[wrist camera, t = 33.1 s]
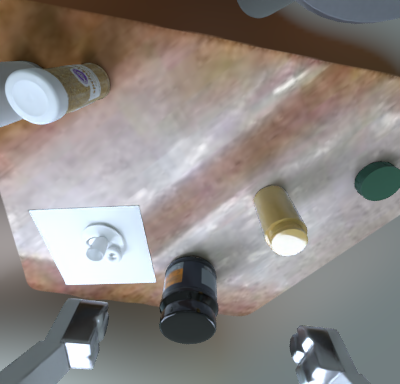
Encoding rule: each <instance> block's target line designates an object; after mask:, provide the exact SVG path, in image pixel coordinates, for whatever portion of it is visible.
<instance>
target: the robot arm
mask: <svg viewBox="0 0 400 384" xmlns="http://www.w3.org/2000/svg"><path fill="white" fill-rule="evenodd" d="M107 310H108V303H106V302H98V301H90V300H83V299H73V298H69V299H68V300H67V301H66V302H65V304H64V305H63V307H62V309H61V311H60V313H59V314H58V316H57V318H56V320H55V322H54V324H53V326H52V327H51V329H50V331H49V333H48V335H47V336H46V338H45V340H44V341H39V342H38V343H36V344H35V345H34V346H32V347H31V348H30V349H29V350H27V351H26V352H25V353H24V354H22V355H21V356H20V357H19V358H17V359H16V360H15V361H13V362H12V363H11V364H9V365H8V366H7V367H6V368H4V369H3V370H2V371H1V372H0V384H57V383H58V381H59V380H60V379H61V378H62V377H63V376H64V375H65V374H66V373H67V372H68V371H69V368H78V369H93V367H94V364H95V362H96V359H97V356H98V353H99V342H100V341H101V340H102V339H103V338H104V336H105V333H106V329H107V325H108V320H109V314H108V313H107ZM297 332H298V333H296V334H294V335H293V336H292V338H291V339H290V352H291V356H292V359H293V360H294V361H295V363H296V364H297V368H296V374H297V377H298V381H299V384H371V383H370V382H369V381H368V380H367V379H366V378H365V377H364V376H363V375H362V374H358V372H357V369H356V367H355V365H354V363H353V361H352V359H351V357H350V355H349V353H348V351H347V348H346V347H345V344H344V342H343V340H342V338H341V336H340V334H339V332H338V331H337V330H336V329H332V328H323V327H314V326H305V325H301V326H299V327H298V328H297Z"/></svg>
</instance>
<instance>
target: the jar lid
mask: <svg viewBox="0 0 400 384" xmlns="http://www.w3.org/2000/svg"><path fill="white" fill-rule="evenodd" d="M355 188H356V190H357V192H358V193H359V194H360V195H361V196H363V197H364V198H366V199H368V200H371V201H379V200H383V199H386V198H388V197H390V196H391V195H393V194H394V193H395V192H396V191H397V190H398V189H399V188H400V170H399V169H398V168H397V167H395V166H394V165H392V164H391V163H389V162H382V161H380V162H375V163H372V164H369V165H368V166H366V167H364V168H363V169H362V170H361V171H360V172H359V173H358V175H357V177H356V179H355Z"/></svg>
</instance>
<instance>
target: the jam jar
mask: <svg viewBox="0 0 400 384" xmlns="http://www.w3.org/2000/svg"><path fill="white" fill-rule="evenodd" d="M254 206H255V210H256V213H257V216H258V219H259V222H260V225H261V229H262V232H263V235H264V238H265V241H266V243H267V244H268V245H269V246H270V247H271V249H272V250H273V252H275V253H276V254H278V255H281V256H292V255H295V254H298V253H299V252H301V251H302V250H303V249H304V248H305V247H306V246H307V243H308V237H307V227H306V225H305V223H304V222H303V220H302V218H301V216H300V215H299V213H298V211H297V209H296V208H295V206H294V204H293V202H292V201H291V199H290V197H289V195H288V194H287V192H286V191H285V190H284V189H283V188H281V187H279V186H267V187H264V188H262V189H261V190H260V191H259V192H258V193H257V194H256V195H255V198H254Z"/></svg>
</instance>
